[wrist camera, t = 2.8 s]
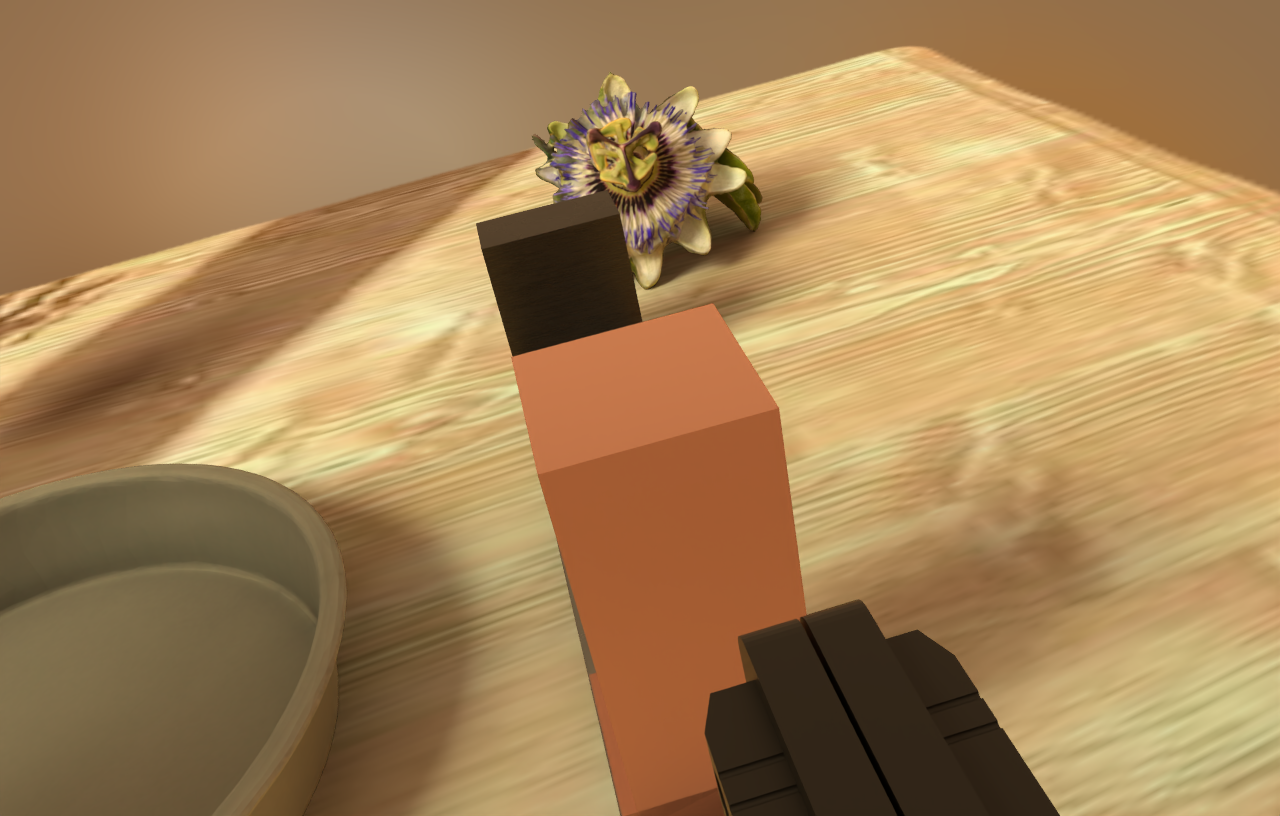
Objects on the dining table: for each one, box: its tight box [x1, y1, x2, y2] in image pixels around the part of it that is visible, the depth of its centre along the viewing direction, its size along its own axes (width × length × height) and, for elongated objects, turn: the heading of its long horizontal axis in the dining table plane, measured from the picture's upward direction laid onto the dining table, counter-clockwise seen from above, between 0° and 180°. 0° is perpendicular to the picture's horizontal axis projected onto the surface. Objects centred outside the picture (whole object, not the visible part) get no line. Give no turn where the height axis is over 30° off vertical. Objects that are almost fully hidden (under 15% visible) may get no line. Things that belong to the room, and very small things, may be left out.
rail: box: [476, 190, 642, 816], centre depth 36 cm, size 6×31×8 cm, turn 12°
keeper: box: [511, 303, 806, 816], centre depth 26 cm, size 6×5×12 cm
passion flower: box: [532, 72, 762, 289], centre depth 58 cm, size 11×11×12 cm
